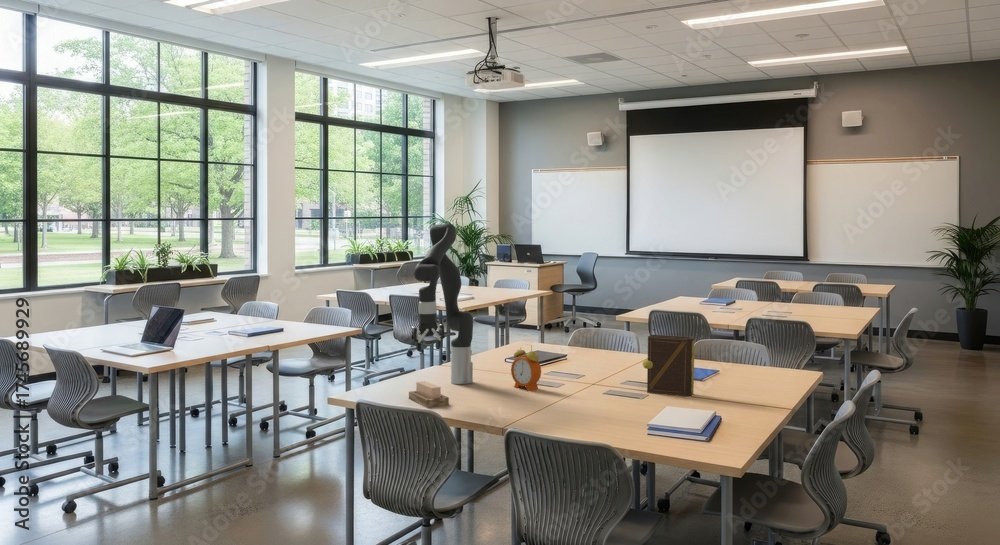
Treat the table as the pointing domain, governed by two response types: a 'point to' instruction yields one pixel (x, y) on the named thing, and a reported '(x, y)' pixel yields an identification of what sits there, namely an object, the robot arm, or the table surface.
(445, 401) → the picture frame
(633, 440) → the table surface
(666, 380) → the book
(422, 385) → the strip
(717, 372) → the table surface
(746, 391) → the table surface
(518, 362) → the alarm clock
